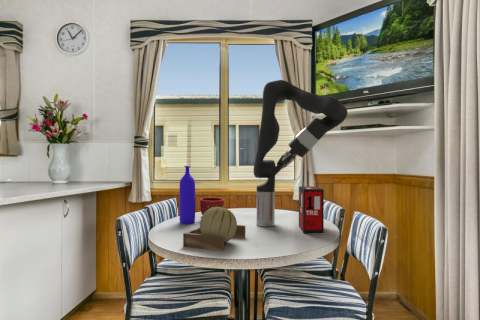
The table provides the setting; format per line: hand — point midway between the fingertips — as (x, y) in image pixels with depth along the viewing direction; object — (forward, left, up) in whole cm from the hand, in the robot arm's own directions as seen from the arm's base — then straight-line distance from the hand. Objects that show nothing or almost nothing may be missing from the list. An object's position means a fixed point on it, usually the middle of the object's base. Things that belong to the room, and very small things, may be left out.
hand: (272, 173), depth 132 cm
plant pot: (-35, -45, -28) cm, 63 cm away
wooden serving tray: (+6, -22, -28) cm, 36 cm away
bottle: (-24, -54, -28) cm, 65 cm away
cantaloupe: (+8, -20, -28) cm, 36 cm away
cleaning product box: (-32, +9, -28) cm, 44 cm away
